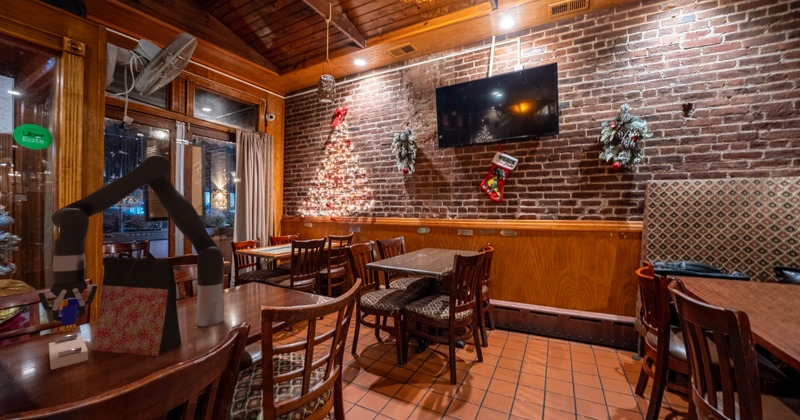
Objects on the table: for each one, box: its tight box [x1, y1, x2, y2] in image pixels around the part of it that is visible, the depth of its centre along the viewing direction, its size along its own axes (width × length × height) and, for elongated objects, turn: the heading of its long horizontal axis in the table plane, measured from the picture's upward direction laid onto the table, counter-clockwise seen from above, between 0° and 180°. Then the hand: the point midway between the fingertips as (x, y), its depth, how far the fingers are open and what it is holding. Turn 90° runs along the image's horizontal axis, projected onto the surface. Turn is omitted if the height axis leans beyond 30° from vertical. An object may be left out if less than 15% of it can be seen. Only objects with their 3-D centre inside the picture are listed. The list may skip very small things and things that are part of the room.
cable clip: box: [57, 298, 80, 327], centre depth 103 cm, size 12×4×6 cm, turn 41°
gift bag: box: [90, 251, 182, 357], centre depth 110 cm, size 29×14×35 cm, turn 84°
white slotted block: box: [48, 333, 89, 370], centre depth 103 cm, size 8×17×4 cm, turn 50°
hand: (68, 318), depth 104 cm, fingers closed on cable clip, 4 cm apart
